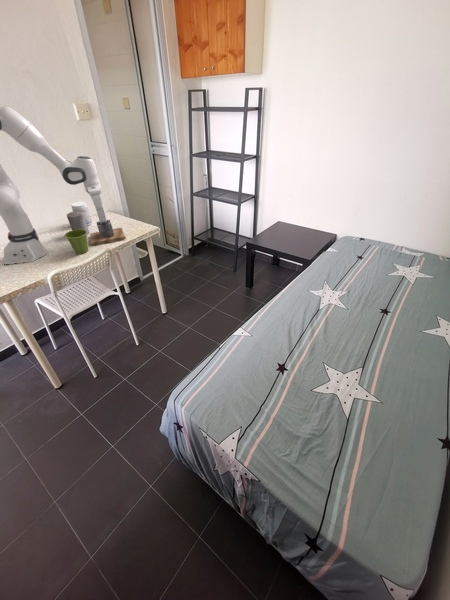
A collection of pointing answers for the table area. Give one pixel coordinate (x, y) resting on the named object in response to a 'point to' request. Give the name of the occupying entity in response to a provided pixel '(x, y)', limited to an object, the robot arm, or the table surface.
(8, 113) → the robot arm
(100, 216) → the column
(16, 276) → the table surface
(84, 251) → the plant pot
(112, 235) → the stand
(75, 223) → the pillar candle
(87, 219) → the supplement tub
